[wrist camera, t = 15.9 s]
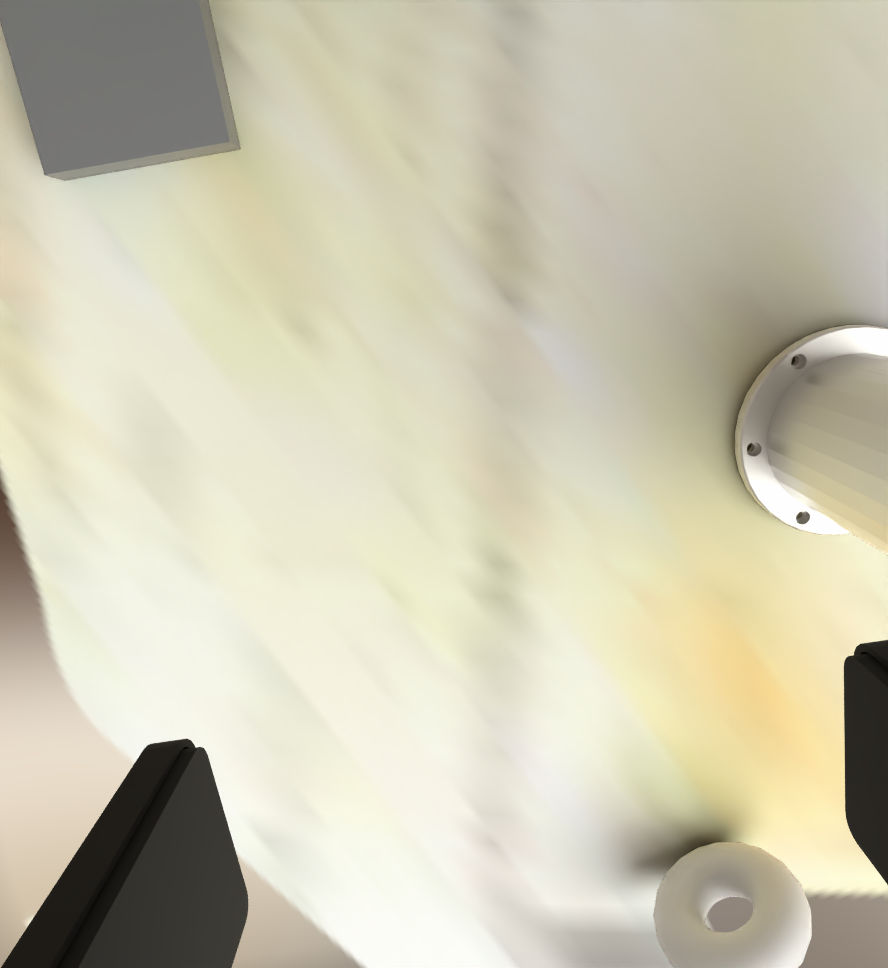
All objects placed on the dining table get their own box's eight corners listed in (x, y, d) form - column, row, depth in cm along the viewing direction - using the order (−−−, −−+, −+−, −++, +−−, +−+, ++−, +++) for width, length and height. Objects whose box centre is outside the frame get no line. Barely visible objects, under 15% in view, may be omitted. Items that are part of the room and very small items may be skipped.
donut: (648, 897, 52) (694, 1036, 42) (629, 864, 51) (671, 997, 42) (775, 845, 51) (853, 975, 41) (758, 809, 50) (833, 934, 40)
